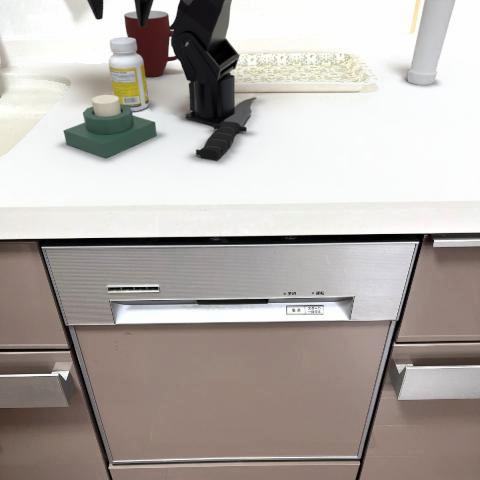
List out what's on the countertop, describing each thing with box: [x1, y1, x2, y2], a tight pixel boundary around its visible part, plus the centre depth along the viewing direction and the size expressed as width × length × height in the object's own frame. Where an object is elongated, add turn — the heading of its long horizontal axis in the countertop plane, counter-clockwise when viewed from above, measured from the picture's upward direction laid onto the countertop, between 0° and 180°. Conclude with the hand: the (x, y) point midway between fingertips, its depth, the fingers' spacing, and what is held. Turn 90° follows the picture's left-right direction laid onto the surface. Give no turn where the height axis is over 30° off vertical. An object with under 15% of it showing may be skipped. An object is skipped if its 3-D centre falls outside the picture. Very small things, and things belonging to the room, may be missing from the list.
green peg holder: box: [63, 104, 158, 159], centre depth 67 cm, size 8×10×4 cm
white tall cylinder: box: [406, 0, 456, 86], centre depth 82 cm, size 5×5×25 cm
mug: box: [123, 10, 178, 78], centre depth 89 cm, size 11×8×10 cm
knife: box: [195, 97, 257, 162], centre depth 72 cm, size 25×2×5 cm
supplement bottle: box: [108, 36, 150, 113], centre depth 75 cm, size 5×5×10 cm
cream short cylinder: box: [91, 94, 121, 117], centre depth 65 cm, size 4×4×2 cm
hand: (120, 22), depth 71 cm, fingers open, 9 cm apart
